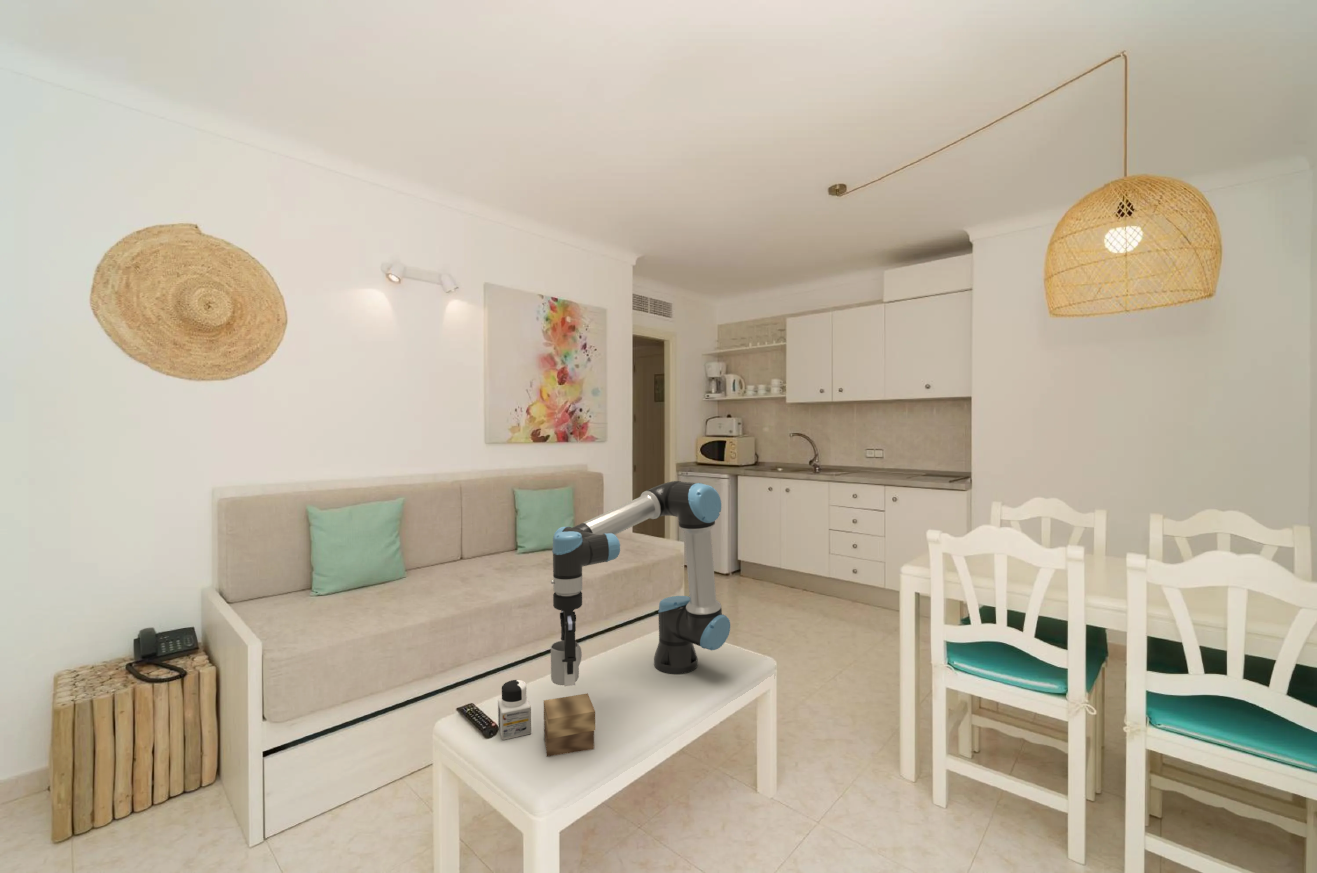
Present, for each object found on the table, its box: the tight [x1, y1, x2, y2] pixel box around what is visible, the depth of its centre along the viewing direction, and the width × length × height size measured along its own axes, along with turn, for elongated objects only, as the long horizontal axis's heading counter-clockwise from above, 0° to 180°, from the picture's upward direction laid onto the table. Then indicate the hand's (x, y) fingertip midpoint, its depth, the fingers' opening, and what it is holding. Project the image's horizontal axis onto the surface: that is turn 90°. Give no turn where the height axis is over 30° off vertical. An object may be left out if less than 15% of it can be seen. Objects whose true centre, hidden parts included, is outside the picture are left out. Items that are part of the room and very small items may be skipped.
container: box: [497, 679, 532, 741], centre depth 152 cm, size 8×8×13 cm
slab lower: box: [543, 721, 595, 757], centre depth 146 cm, size 12×10×5 cm
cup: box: [550, 640, 583, 686], centre depth 147 cm, size 7×10×9 cm
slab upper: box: [543, 692, 596, 739], centre depth 146 cm, size 12×10×5 cm
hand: (568, 677), depth 146 cm, fingers closed on cup, 8 cm apart
